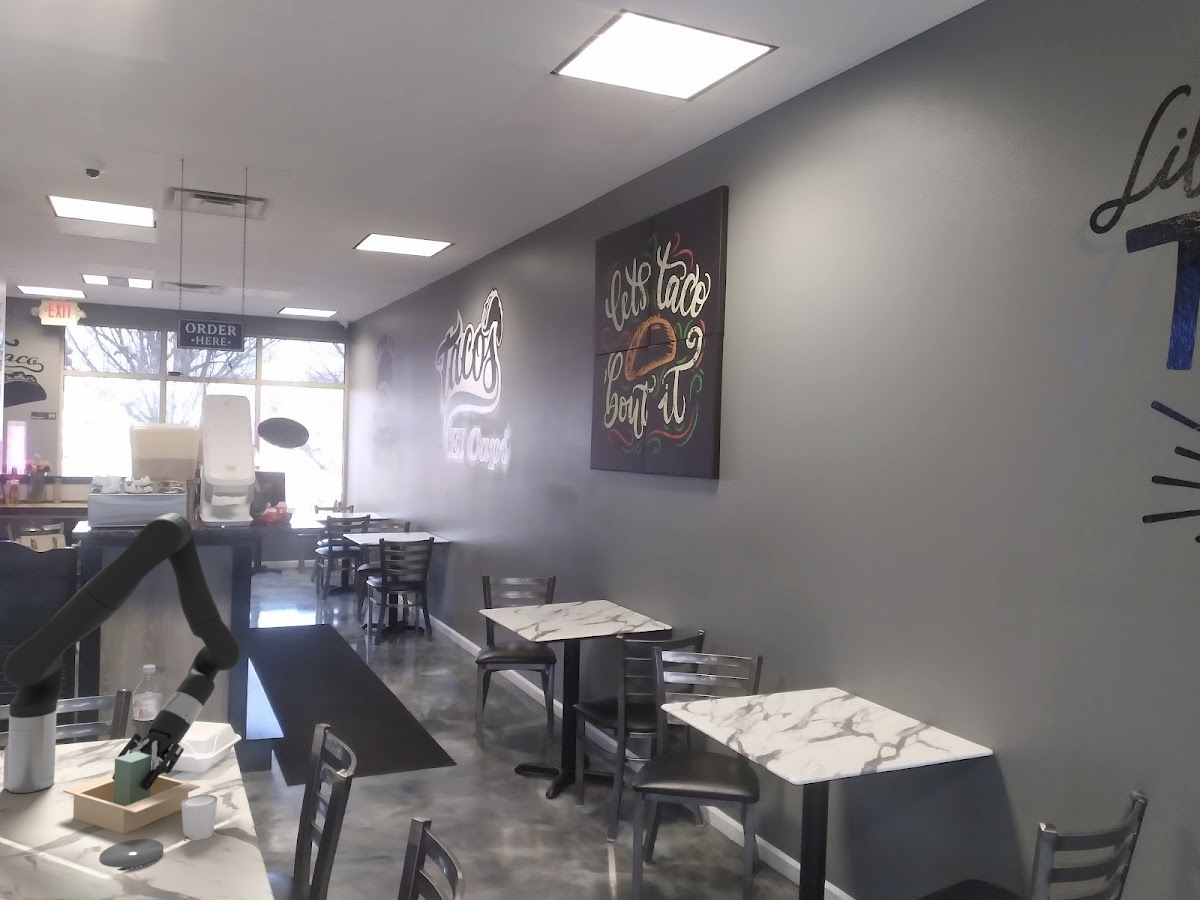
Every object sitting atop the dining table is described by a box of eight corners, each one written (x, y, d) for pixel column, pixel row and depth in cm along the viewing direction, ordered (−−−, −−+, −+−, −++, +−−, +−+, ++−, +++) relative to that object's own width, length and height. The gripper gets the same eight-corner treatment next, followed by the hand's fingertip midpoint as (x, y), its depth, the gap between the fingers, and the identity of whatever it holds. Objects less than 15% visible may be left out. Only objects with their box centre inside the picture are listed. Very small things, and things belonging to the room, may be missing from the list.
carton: (62, 818, 186) (63, 790, 186) (128, 793, 201) (129, 767, 201) (134, 841, 177) (135, 812, 177) (199, 813, 191) (200, 786, 191)
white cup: (180, 844, 177) (181, 809, 177) (179, 830, 183) (180, 797, 183) (217, 838, 180) (218, 804, 180) (215, 824, 186) (216, 792, 186)
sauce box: (112, 814, 188) (114, 758, 188) (134, 805, 192) (136, 751, 192) (129, 819, 185) (130, 762, 185) (150, 810, 190) (152, 755, 190)
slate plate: (85, 866, 166) (85, 861, 166) (127, 841, 177) (127, 836, 177) (136, 873, 164) (136, 868, 164) (175, 847, 175) (175, 842, 175)
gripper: (144, 703, 199) (95, 770, 189) (189, 713, 193) (141, 782, 183) (164, 720, 204) (117, 786, 193) (208, 730, 198) (162, 799, 187)
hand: (129, 784), depth 188 cm, fingers open, 8 cm apart
